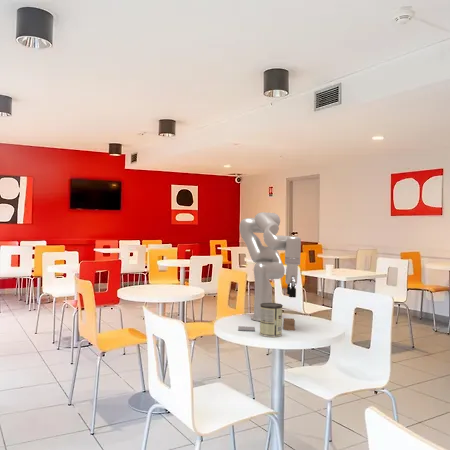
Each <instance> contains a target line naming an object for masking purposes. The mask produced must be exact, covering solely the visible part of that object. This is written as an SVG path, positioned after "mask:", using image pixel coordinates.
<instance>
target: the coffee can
mask: <svg viewBox="0 0 450 450" xmlns="http://www.w3.org/2000/svg"><path fill="white" fill-rule="evenodd" d="M260 306H261V309H260V321H259V335H260V336H262V337H267V338H279V337H281V336H282V334H283V333H282V329H283V327H282V326H283V306H284V305H283V304H281V303H278V302H277V303H276V302H272V303H261V304H260Z"/></svg>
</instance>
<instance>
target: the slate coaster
mask: <svg viewBox="0 0 450 450" xmlns="http://www.w3.org/2000/svg"><path fill="white" fill-rule="evenodd" d="M238 332H256V327H255V326H246V325H245V326H241V325H239V326H238Z"/></svg>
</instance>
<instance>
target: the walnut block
mask: <svg viewBox="0 0 450 450" xmlns="http://www.w3.org/2000/svg"><path fill="white" fill-rule="evenodd" d="M295 321H296V320H295V319H294V318H289V317H288V318H287V317H285V318H283V321H282V326H283V327H282V329H283V330H284V331H295V326H296V325H295V323H296V322H295Z"/></svg>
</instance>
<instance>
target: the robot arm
mask: <svg viewBox="0 0 450 450" xmlns="http://www.w3.org/2000/svg"><path fill="white" fill-rule="evenodd" d="M280 223H281V219H280V215H279V214H277V213H275V212H265V211H264V212H263V211H262V212H258V213H257V214H256V215H255V216H254V217H246V218H243V219H242V220H241V221H240V223H239V233H240V237H241V238H242V240H243V242H244V243H245V245H246V248H247V250H248V253H249V256H250V258H251V261H253V263H254V266H253V277H254V300H253V301H254V302H253V303H254V304H253V315H252V316H251V317H250V319H251V320H253V321H257V322H260V309H261V306H260V304H261V303H273V285H272V284H271V282H270V280H280V279H282V278H283V277H284V275H285V284H286V286H287V287H286V288H287V290H286V293H287V295H288V297H289V298H296V297H297V286H296V285H297V284H298V270H299V266H301V251H302V250H301V248H302V247H301V246H302V238H301V237H299V236H292V235H278V233H279V231H280V227H279V226H280V225H281V224H280ZM255 233H256V234H257V233H258V234H262V235H263V236H262V237H263V238H262V239H263V242H264V244H265V245H266V246H264V245H263V244H262V241H261V239H260V238H259V237H258V235H256V234H255ZM279 251H284V264H283V261H282V259H281V255H280V254H279ZM284 265H286V266H285V267H286V269H285V267H284Z"/></svg>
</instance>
